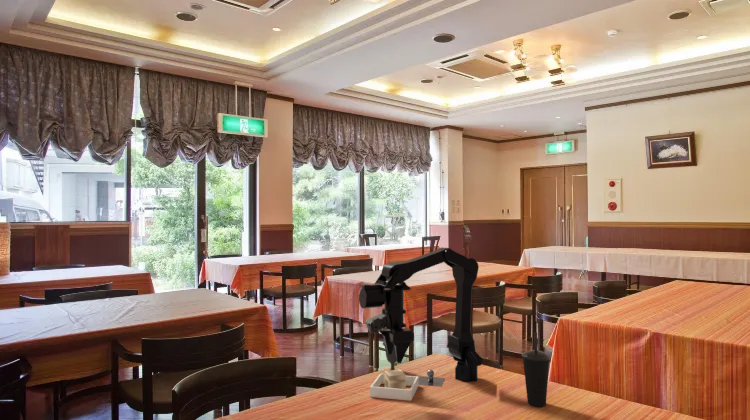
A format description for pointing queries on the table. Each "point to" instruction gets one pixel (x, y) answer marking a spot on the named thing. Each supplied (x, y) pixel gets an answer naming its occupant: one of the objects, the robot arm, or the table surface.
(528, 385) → the drinking cup
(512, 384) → the table surface
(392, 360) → the sundae
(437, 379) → the stud plate
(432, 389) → the table surface
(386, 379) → the socket block
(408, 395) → the bin
